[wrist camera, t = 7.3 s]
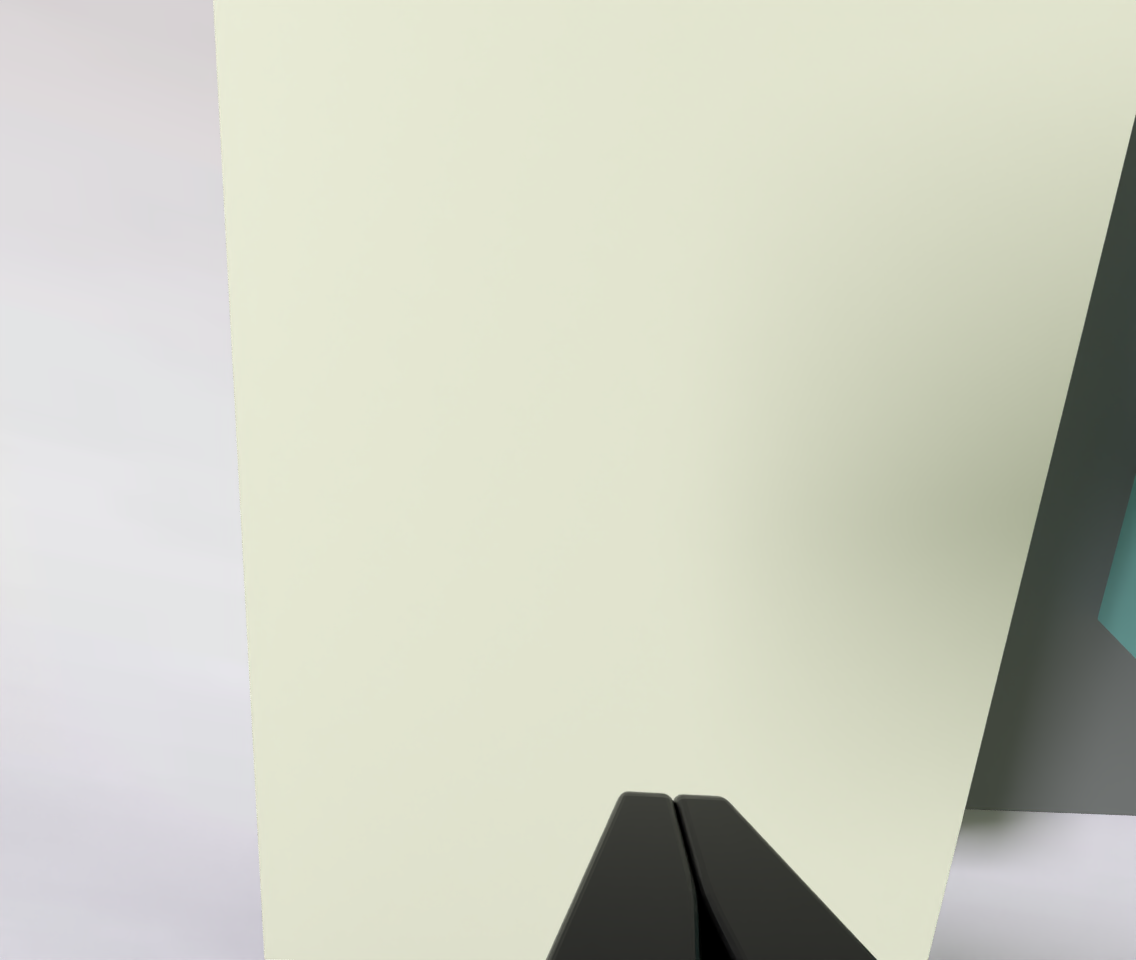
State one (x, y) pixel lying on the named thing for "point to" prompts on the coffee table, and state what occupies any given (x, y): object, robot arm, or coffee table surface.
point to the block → (1123, 583)
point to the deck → (641, 430)
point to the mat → (1076, 578)
